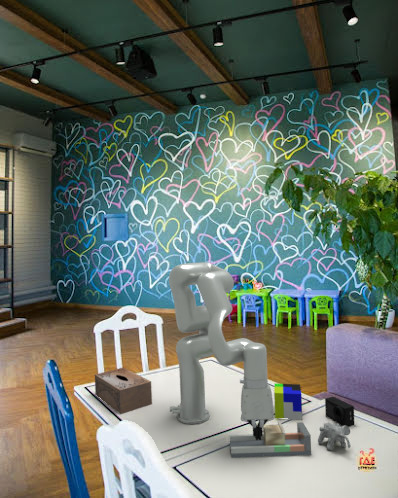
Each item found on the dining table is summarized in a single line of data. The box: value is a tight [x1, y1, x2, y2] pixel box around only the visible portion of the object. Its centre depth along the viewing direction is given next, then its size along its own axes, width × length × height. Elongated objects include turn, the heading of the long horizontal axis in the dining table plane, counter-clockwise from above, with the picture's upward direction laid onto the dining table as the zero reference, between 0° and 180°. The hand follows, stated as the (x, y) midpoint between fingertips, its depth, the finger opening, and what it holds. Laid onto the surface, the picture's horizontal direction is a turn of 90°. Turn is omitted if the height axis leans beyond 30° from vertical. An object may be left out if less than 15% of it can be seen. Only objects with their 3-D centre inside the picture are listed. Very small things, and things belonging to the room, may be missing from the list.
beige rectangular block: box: [262, 420, 287, 446], centre depth 126 cm, size 6×9×6 cm
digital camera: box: [324, 396, 355, 428], centre depth 144 cm, size 10×5×7 cm, turn 24°
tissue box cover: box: [94, 367, 153, 415], centre depth 171 cm, size 26×14×10 cm, turn 38°
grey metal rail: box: [228, 432, 312, 459], centre depth 126 cm, size 25×9×3 cm, turn 90°
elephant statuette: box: [317, 422, 351, 451], centre depth 125 cm, size 9×12×8 cm
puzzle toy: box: [273, 383, 303, 421], centre depth 151 cm, size 10×10×10 cm
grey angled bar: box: [296, 421, 312, 452], centre depth 126 cm, size 2×9×5 cm, turn 0°
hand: (257, 438), depth 126 cm, fingers closed
